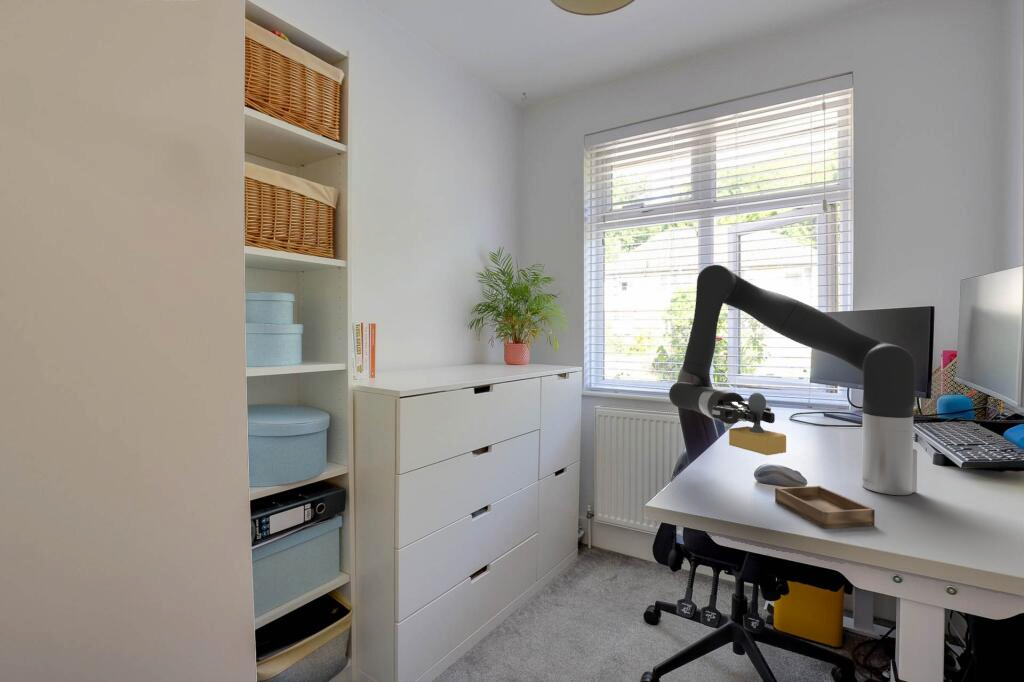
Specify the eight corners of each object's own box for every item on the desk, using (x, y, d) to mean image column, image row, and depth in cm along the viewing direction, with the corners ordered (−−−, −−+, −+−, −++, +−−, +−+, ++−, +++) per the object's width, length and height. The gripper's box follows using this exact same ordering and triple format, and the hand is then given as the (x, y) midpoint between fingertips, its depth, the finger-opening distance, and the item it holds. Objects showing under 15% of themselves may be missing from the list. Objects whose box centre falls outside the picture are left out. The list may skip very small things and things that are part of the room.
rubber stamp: (787, 452, 101) (787, 394, 101) (767, 455, 99) (767, 396, 99) (747, 442, 110) (747, 389, 110) (728, 445, 108) (727, 391, 108)
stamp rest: (819, 499, 106) (819, 485, 106) (874, 525, 92) (874, 509, 92) (775, 501, 105) (775, 488, 105) (824, 528, 91) (824, 512, 91)
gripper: (693, 390, 118) (734, 401, 101) (748, 389, 119) (797, 399, 102) (693, 421, 118) (734, 437, 101) (748, 419, 120) (797, 435, 102)
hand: (765, 418), depth 102 cm, fingers closed on rubber stamp, 2 cm apart
